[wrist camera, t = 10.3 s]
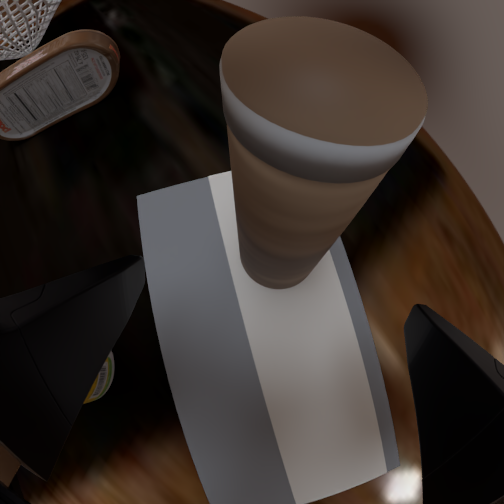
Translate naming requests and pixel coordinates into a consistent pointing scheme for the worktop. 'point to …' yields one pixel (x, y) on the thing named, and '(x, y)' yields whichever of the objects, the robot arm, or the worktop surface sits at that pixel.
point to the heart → (41, 31)
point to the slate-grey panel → (262, 358)
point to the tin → (56, 82)
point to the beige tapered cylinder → (310, 135)
